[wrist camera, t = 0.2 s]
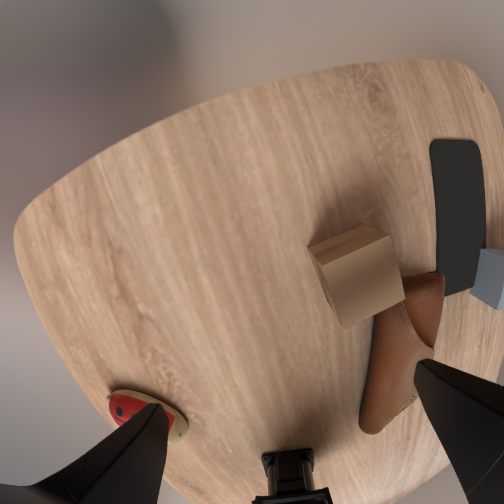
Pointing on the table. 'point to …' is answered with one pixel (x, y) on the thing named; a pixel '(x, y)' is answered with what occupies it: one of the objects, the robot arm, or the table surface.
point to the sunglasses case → (401, 349)
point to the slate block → (490, 278)
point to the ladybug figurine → (132, 402)
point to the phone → (458, 211)
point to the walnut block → (358, 273)
